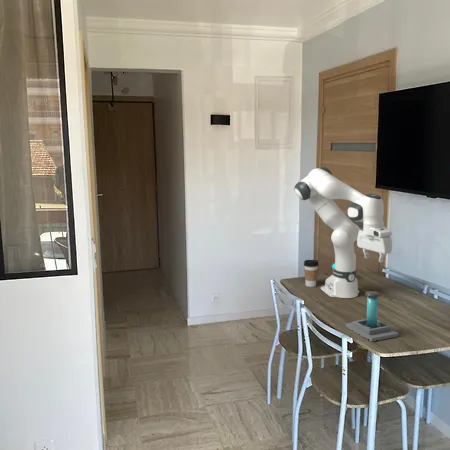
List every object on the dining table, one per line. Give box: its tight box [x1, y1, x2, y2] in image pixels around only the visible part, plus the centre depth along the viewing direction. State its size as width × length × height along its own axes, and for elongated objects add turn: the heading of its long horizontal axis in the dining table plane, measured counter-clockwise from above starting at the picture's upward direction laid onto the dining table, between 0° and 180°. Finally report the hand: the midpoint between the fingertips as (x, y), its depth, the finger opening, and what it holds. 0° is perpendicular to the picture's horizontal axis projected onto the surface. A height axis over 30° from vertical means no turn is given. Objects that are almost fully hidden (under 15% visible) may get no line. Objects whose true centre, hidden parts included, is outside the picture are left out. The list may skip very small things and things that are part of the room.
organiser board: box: [345, 318, 399, 342], centre depth 207 cm, size 18×14×4 cm
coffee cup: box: [303, 259, 319, 288], centre depth 274 cm, size 8×8×15 cm
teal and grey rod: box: [365, 290, 381, 329], centre depth 206 cm, size 6×6×16 cm
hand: (373, 260), depth 214 cm, fingers open, 8 cm apart
